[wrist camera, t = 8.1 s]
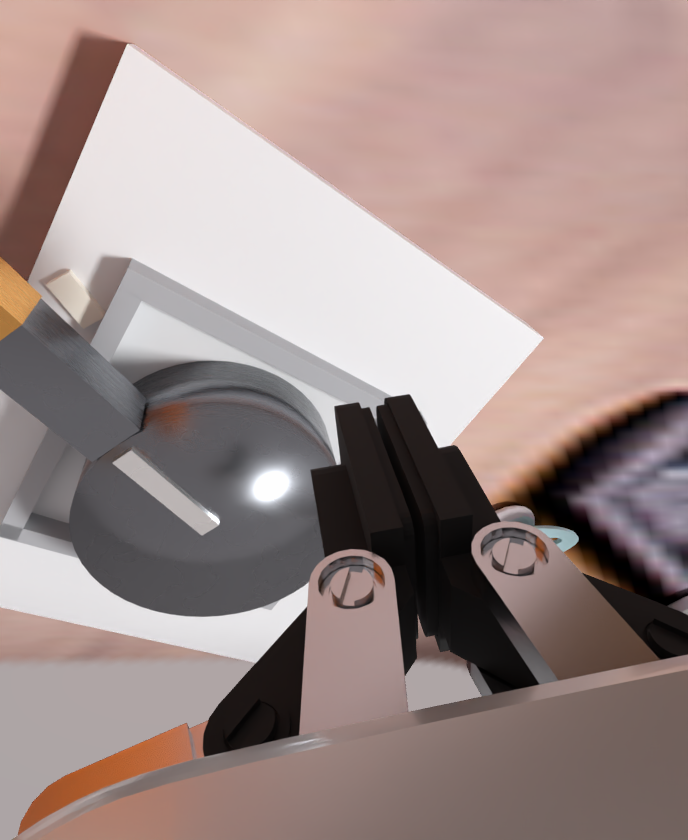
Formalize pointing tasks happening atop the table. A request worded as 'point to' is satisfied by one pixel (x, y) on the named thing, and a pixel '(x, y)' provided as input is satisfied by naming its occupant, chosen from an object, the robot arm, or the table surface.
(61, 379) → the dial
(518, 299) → the table surface
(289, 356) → the panel
